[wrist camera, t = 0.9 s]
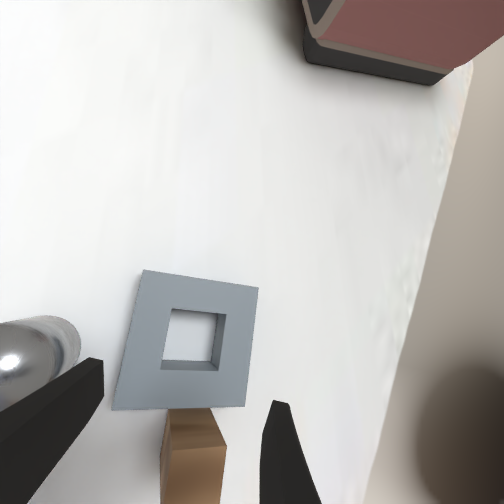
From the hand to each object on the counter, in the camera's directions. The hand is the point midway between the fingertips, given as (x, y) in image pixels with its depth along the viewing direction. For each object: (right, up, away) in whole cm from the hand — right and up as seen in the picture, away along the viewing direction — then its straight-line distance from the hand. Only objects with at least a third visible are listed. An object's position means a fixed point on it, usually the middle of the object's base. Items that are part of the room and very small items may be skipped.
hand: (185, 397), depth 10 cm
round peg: (-13, -1, +8) cm, 16 cm away
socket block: (-3, -2, +12) cm, 13 cm away
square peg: (-3, -10, +11) cm, 15 cm away
